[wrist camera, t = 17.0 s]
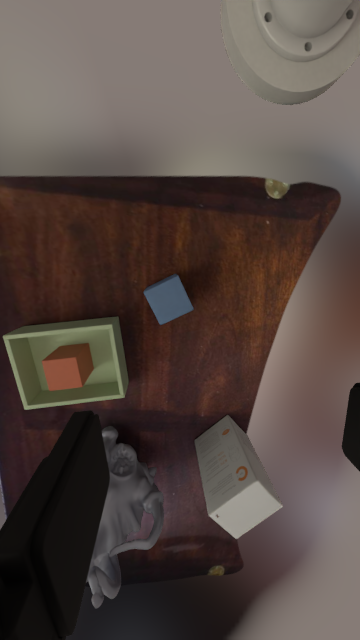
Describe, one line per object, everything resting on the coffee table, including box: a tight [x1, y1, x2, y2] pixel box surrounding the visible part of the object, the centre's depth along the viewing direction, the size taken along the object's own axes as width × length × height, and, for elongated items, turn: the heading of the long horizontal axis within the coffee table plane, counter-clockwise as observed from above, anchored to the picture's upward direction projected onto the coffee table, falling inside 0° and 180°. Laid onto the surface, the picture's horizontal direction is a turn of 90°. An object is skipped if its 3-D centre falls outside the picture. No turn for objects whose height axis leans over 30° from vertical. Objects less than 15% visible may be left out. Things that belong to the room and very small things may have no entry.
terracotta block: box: [42, 343, 94, 391], centre depth 33 cm, size 4×4×6 cm
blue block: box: [144, 274, 194, 325], centre depth 33 cm, size 5×5×5 cm
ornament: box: [86, 426, 164, 608], centre depth 32 cm, size 18×20×20 cm
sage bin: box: [3, 317, 129, 410], centre depth 34 cm, size 11×14×5 cm
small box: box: [194, 415, 283, 539], centre depth 36 cm, size 8×6×13 cm
